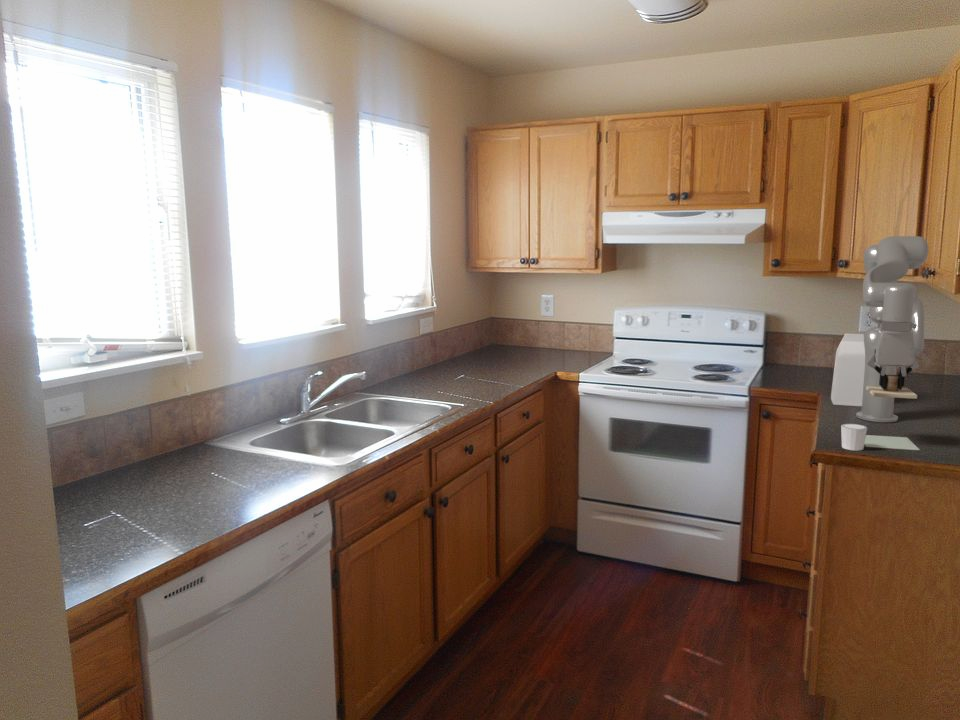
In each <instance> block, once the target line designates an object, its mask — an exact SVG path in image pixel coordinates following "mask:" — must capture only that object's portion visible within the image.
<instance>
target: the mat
mask: <svg viewBox="0 0 960 720" xmlns="http://www.w3.org/2000/svg"><path fill="white" fill-rule="evenodd" d="M864 447H865V448H877V449H880V448H881V449H893V450H894V449H895V450H908V451H909V450H910V451H911V450H912V451H921V449H920V448H919V447H917V445H915V444H914V442H912V441H911V439H909V438H908V437H907V436H887V435H875V434H873V435H871V434H870V435H869V434H866V438H865V443H864Z"/></svg>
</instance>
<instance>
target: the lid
mask: <svg viewBox="0 0 960 720" xmlns="http://www.w3.org/2000/svg"><path fill="white" fill-rule="evenodd" d="M898 375H899V374H896V375H886V376H887V383H886V389H882V388H881V387H878V386H866V390H868V391H869V392H870V393H871V394H872V395H873V396H874V397H891V398H894V399H898V398H899V399H918V394H916V393H915V392H913V391H912V390H911V389H909V388H908V387H905V386H903V387H902V390H899V389H898V382H899V376H898Z"/></svg>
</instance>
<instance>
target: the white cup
mask: <svg viewBox="0 0 960 720" xmlns="http://www.w3.org/2000/svg"><path fill="white" fill-rule="evenodd" d="M840 430H841V432H840V433H841V437H840V438H841V448H842V449H845V450H847V451H848V450H849V451H863V450H864V449H865V445H864V443H865V438H866V435H867V432H868V427H867V426H866V425H862V424H858V423H844V424H841V425H840Z"/></svg>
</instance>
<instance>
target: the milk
mask: <svg viewBox="0 0 960 720" xmlns="http://www.w3.org/2000/svg"><path fill="white" fill-rule="evenodd" d="M834 357H835V358H834V367H833V376H832V385H831V391H830V400H831V403H832V405H835V406H851V407H852V406H853V407H854V406H855V407H862V397H863V384H864V370H865V348H864V333H845V334H844V336H843V337H842V339H841V341H840V343H839V344H838V346H837V349H836V351H835V356H834Z"/></svg>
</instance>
